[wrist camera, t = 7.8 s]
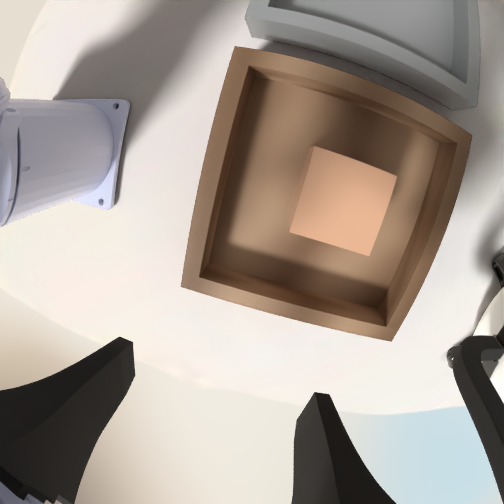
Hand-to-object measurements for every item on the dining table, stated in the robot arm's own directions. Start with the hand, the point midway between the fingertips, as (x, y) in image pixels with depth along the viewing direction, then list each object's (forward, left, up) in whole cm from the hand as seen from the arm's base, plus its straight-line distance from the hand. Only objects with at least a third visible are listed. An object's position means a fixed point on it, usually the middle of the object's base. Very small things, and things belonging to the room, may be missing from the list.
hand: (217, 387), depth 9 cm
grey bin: (+3, +23, -10) cm, 25 cm away
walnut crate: (+3, +7, -10) cm, 12 cm away
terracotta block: (+3, +7, -9) cm, 12 cm away
